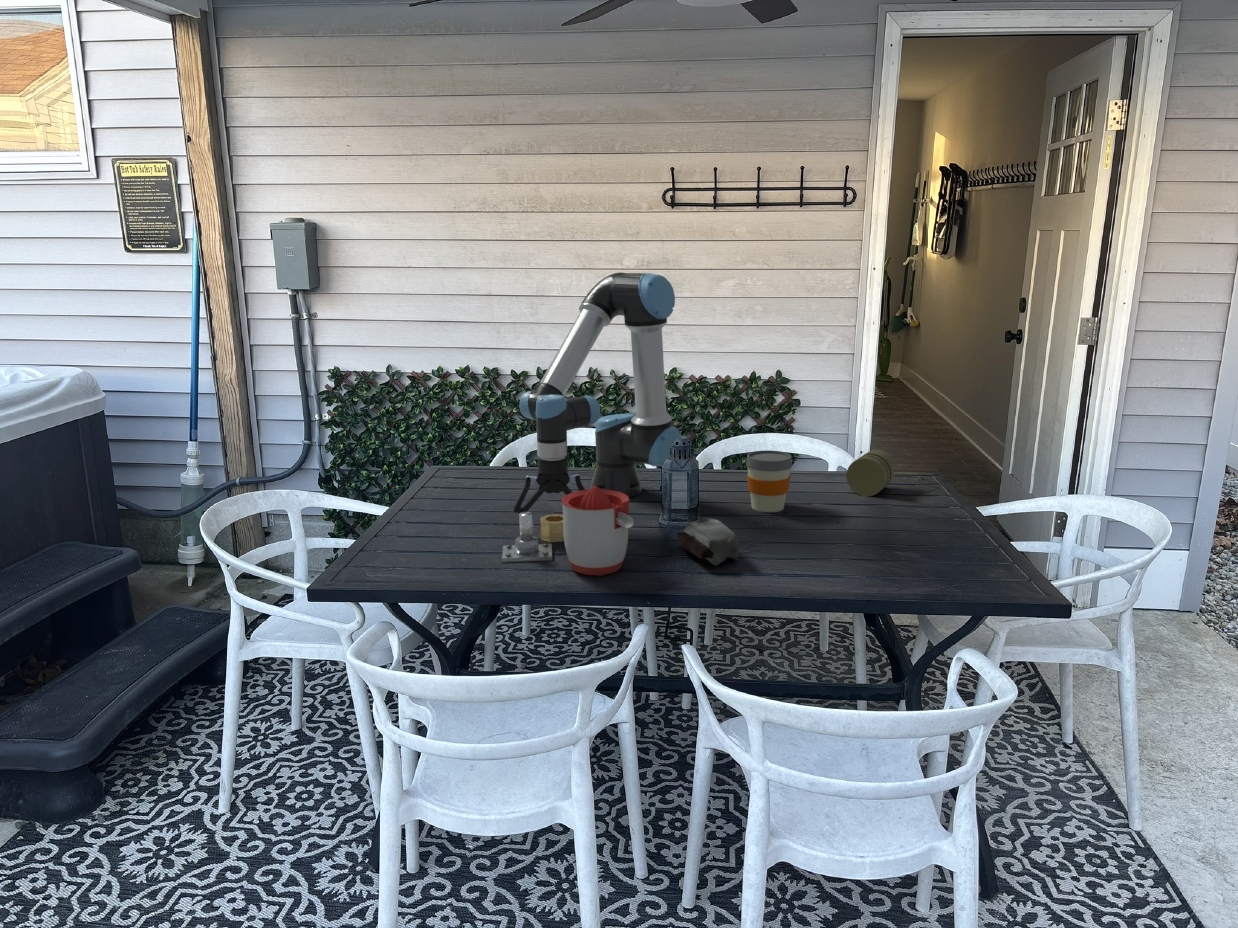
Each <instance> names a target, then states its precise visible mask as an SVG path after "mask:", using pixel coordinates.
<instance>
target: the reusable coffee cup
mask: <svg viewBox="0 0 1238 928" xmlns="http://www.w3.org/2000/svg"><path fill="white" fill-rule="evenodd" d="M745 464H746V465H745V466H746V467H747V474H746V479H747V490H748V492H750V493H749V494H750V502H751V503H750V504H751V508H752V509H753V510H755V511H757V512H761V513H776V512H777V513H778V512H781V511H783V510H784V508H785V503H786V498H787V497H786V496H787V493H788V492H789V488H790V481H791V474H790V473H791V468H793V467H792V466H793V464H792V455H791V454H790V453H788V452H784V451H779V450H757V451H756V450H755V451H752V452H749V453H747V456H746V463H745Z"/></svg>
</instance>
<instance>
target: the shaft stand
mask: <svg viewBox="0 0 1238 928" xmlns="http://www.w3.org/2000/svg"><path fill="white" fill-rule="evenodd" d="M518 517H519V518H518V520H519V521H518V522H519V536H518V537H516V538H515V541H514V543H515V544H513V545H512V544H506V545H502V556H501V563H518V562H523V563H524V562H541V561H542V562H543V561H547V562H548V561H553V549H552V548H553V547H552V546H553V544H552V543H549V542H544V543H539V537H538V536H536V535H535V536H534V521H533V518H534V517H533V512H531V511H527V512H522V513H518Z"/></svg>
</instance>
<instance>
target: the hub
mask: <svg viewBox="0 0 1238 928" xmlns="http://www.w3.org/2000/svg"><path fill="white" fill-rule="evenodd" d="M539 518H540V539H541V540H542V541H544V542H546V543H559V542H560V543H561V542H562V543H563V542H564V531H563V514H561V513H559V514H557V513H556V514H554V513H553V514H547V515H544V516H541V517H539Z"/></svg>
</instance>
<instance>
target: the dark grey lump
mask: <svg viewBox="0 0 1238 928" xmlns="http://www.w3.org/2000/svg"><path fill="white" fill-rule="evenodd" d="M676 537H677V539H678V541H679V544H680V546H681V547H682V548H683V549H684V550H686V551H687V552H689V553H691V554H693V555H694V556H695V557H696V558H698V559H700V560H706V561H708V562H710V564H712V565H714V566H718V565H719V566H720V564H721V563H723V562H725V561H726V560H727V558H730V559H733V560H737V559H738V558H739V554H740V544H739V539H738V537H737V535H736V534H735V532H733V531H732V530H731V529H730V528H729V527H728V526H727V525H725V524H724V523H723V522H721V521H720V520H718V519H715V518H711V517H704V518H702V519H701V520H699V521H695V522H694V521H690V522H688V523H687V525H686V527H685V528H684V529H682V530H679V531H678V532H677V533H676Z"/></svg>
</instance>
